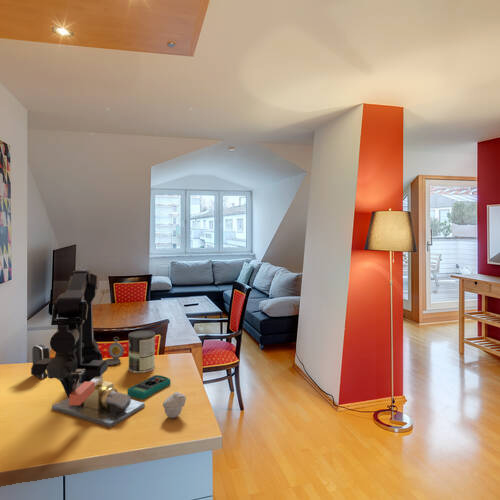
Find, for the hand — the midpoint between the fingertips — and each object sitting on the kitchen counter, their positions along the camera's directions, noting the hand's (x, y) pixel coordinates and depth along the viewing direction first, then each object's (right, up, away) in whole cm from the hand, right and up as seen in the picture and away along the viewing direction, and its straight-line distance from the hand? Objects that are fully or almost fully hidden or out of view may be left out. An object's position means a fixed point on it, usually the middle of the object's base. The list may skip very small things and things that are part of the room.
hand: (69, 397), depth 103 cm
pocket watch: (-7, -6, +52) cm, 53 cm away
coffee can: (+6, -7, +46) cm, 47 cm away
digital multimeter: (+15, -8, +26) cm, 31 cm away
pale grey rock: (+27, -9, +8) cm, 30 cm away
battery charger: (-29, -7, +37) cm, 47 cm away
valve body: (+3, -8, +12) cm, 15 cm away
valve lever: (+3, 0, +5) cm, 6 cm away
